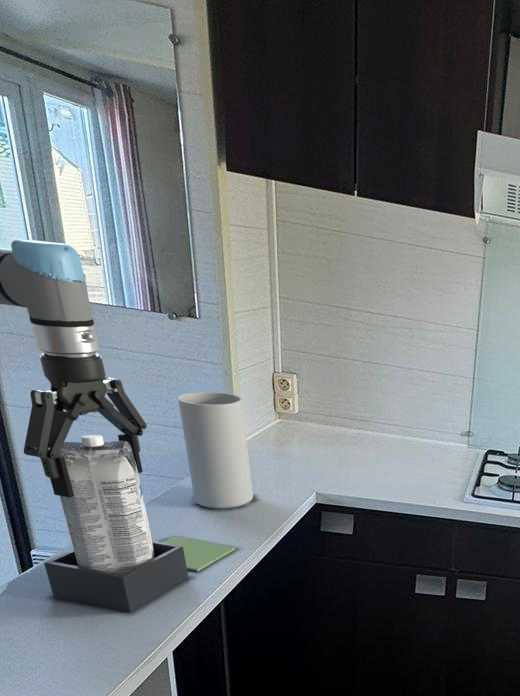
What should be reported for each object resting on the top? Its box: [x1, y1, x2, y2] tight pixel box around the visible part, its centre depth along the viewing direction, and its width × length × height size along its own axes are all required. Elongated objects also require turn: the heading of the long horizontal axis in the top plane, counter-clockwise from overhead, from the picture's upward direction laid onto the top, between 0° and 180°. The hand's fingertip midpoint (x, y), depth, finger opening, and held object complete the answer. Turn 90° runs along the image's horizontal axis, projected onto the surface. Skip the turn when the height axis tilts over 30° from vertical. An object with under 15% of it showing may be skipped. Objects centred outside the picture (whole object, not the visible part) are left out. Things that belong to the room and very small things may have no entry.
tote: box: [43, 540, 190, 613], centre depth 113 cm, size 15×14×7 cm
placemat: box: [162, 535, 236, 572], centre depth 128 cm, size 14×11×1 cm
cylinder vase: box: [177, 391, 254, 509], centre depth 149 cm, size 12×12×25 cm
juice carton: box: [58, 434, 155, 575], centre depth 108 cm, size 9×10×27 cm
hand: (101, 483), depth 106 cm, fingers open, 13 cm apart
